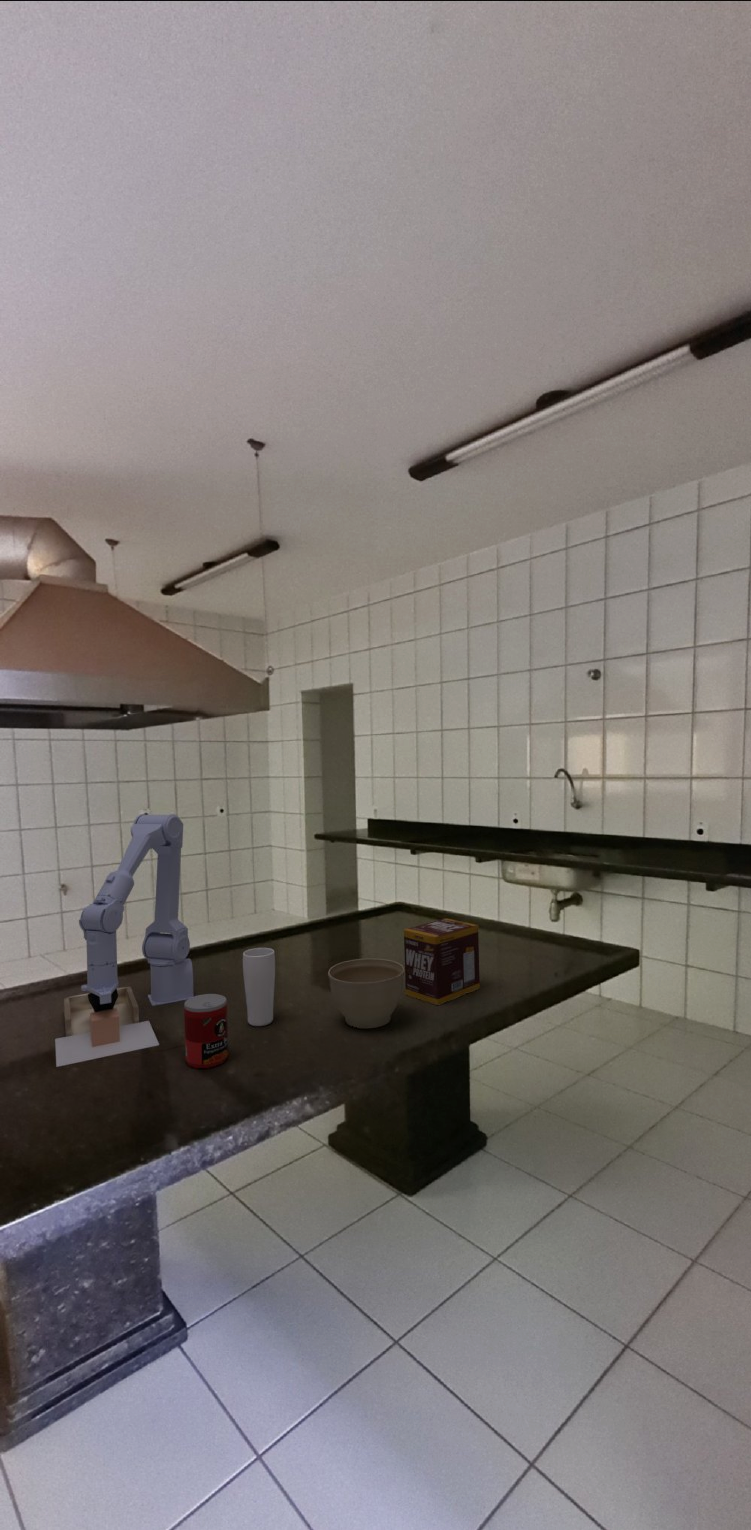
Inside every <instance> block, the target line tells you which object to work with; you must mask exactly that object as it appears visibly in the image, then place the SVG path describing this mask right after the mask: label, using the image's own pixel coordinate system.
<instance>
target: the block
mask: <svg viewBox="0 0 751 1530" xmlns="http://www.w3.org/2000/svg"><path fill="white" fill-rule="evenodd" d="M90 1022H91V1042H92V1047H95V1046H100V1045H105V1044H110V1043H115V1042H120V1031H119V1014H118V1011H117V1008H115V1009H109V1010H104V1011H98V1012H93V1013H90Z"/></svg>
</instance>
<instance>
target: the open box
mask: <svg viewBox="0 0 751 1530" xmlns="http://www.w3.org/2000/svg"><path fill="white" fill-rule="evenodd" d="M116 989H117V993H118V998H117V1000H116V1002H115V1005H114V1008H113V1009H115V1008H117V1011H118V1014H119V1026H124V1025H129V1024H134V1023H139V1022H140V1009H139V1008H140V1007H139V1004H138V1002H137V1000H136V997H135V995H134V992H133V990H132V988H131V986H129V985H128V986H124V987H117V988H116ZM89 993H90V992H87V993H83V994H82V993H81V994H78V995H77V994H75V995H71V996H64V997H63V1015H64V1026H65V1037H68V1036H73V1035H78V1034H83V1033H88V1032H91V1022H90V1013H93V1012H94V1010H93V1007H92V1005H91V1004H90V1002H89V1000H88V994H89Z"/></svg>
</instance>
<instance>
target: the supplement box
mask: <svg viewBox="0 0 751 1530" xmlns="http://www.w3.org/2000/svg"><path fill="white" fill-rule="evenodd" d="M479 941H480V940H479V925H478V924H474V923H469V922H465V921H461V920H456V919H451V918H441V919H439V920H435V921H431V922H427V923H425V924H424V923H423V924H419V925H415V926H413V927H408V928H405V929H403V942H404V943H403V947H404V949H403V950H404V979H405V980H404V981H405V996H407V995H408V997H411V998H414V999H416V998H417V999H416V1000H419V999H421V1000H420V1001H422V1000H423V1001H422V1002H425V1001H428V1002H431V1003H433V1004H441V1003H443V1002H445V1001H448V1000H450V999H452V998H455V997H457V996H459V995H463V994H465V993H466V992H470V991H472V990H474V989H478V988H480V987H481V982H480V978H481V977H480V945H479V944H480V942H479ZM480 989H481V988H480ZM428 1002H427V1003H428ZM431 1003H430V1004H431ZM433 1004H432V1005H433Z"/></svg>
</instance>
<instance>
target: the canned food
mask: <svg viewBox="0 0 751 1530" xmlns="http://www.w3.org/2000/svg"><path fill="white" fill-rule="evenodd" d="M227 1003H228V1002H227V997H226V996H224V995H221V994H219V993H218V994H217V993H205V994H204V993H203V994H199V995H195V996H194V997H192V998H189V999H188V998H187V999H186V1000H184V1004H183V1005H184V1006H183V1008H184V1009H183V1011H184V1013H183V1015H184V1019H183V1020H184V1021H183V1022H184V1044H185V1046H184V1047H185V1049H184V1050H185V1051H184V1052H185V1061H186V1063H187V1065H188V1066H189V1067H190V1068H191V1067H192V1068H193V1067H194V1068H193V1069H198V1068H206V1069H210V1068H209V1067H212V1066H215V1065H218V1064H220V1063H221V1062H223V1061H224V1060H225V1059H226V1058H227V1059H228V1056H229V1055H228V1054H229V1037H228V1035H229V1034H228V1031H229V1030H228V1029H229V1028H228V1027H229V1026H228V1004H227ZM227 1059H226V1060H227ZM226 1060H225V1061H226ZM225 1061H224V1062H225ZM224 1062H223V1063H224ZM220 1065H221V1064H220ZM218 1066H219V1065H218ZM215 1067H216V1066H215ZM212 1068H213V1067H212Z"/></svg>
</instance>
